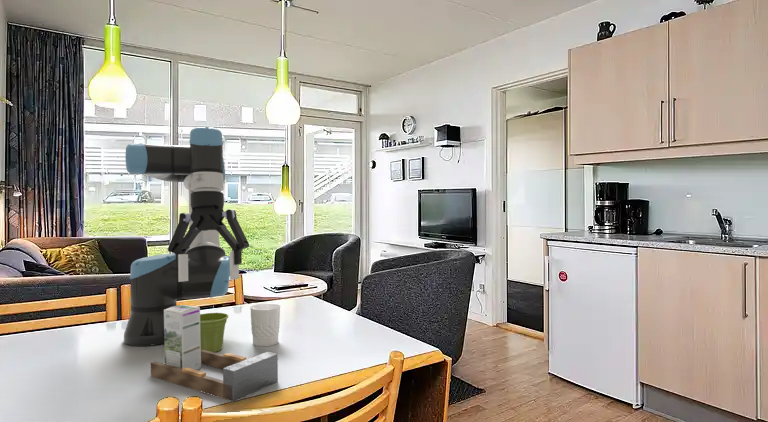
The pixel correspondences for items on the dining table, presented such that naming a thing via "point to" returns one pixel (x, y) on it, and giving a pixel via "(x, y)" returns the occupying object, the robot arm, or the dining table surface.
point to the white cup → (265, 324)
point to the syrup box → (182, 337)
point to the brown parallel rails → (199, 373)
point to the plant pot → (212, 331)
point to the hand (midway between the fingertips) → (208, 280)
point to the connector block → (251, 375)
